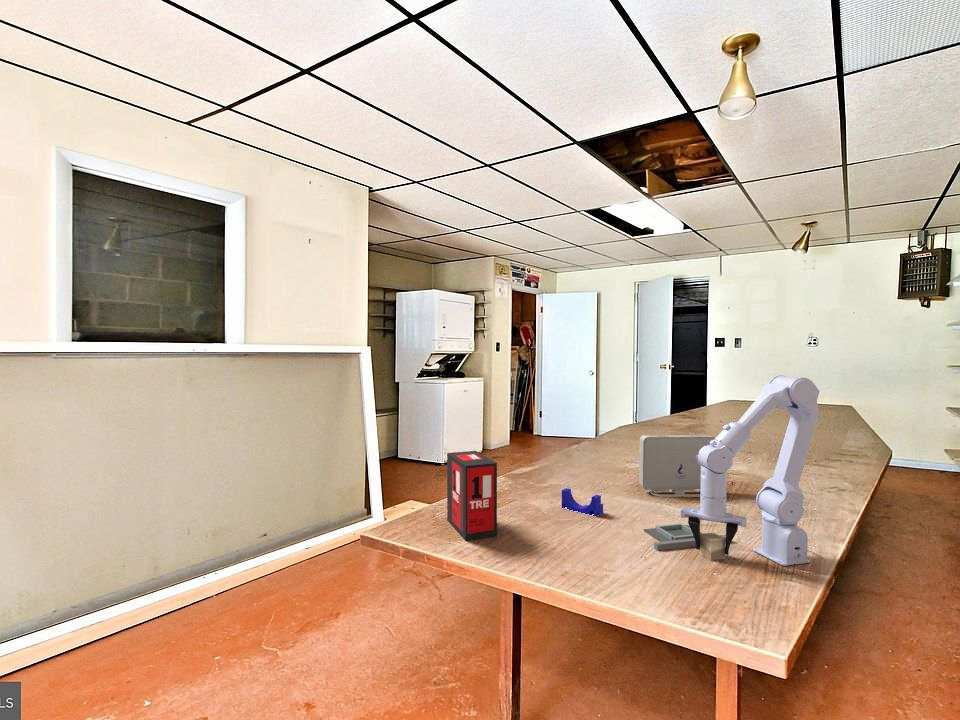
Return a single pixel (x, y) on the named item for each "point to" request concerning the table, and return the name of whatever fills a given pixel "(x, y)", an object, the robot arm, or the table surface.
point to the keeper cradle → (670, 532)
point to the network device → (671, 463)
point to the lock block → (712, 546)
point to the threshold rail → (677, 544)
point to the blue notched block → (590, 509)
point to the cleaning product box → (472, 495)
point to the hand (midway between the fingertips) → (712, 550)
